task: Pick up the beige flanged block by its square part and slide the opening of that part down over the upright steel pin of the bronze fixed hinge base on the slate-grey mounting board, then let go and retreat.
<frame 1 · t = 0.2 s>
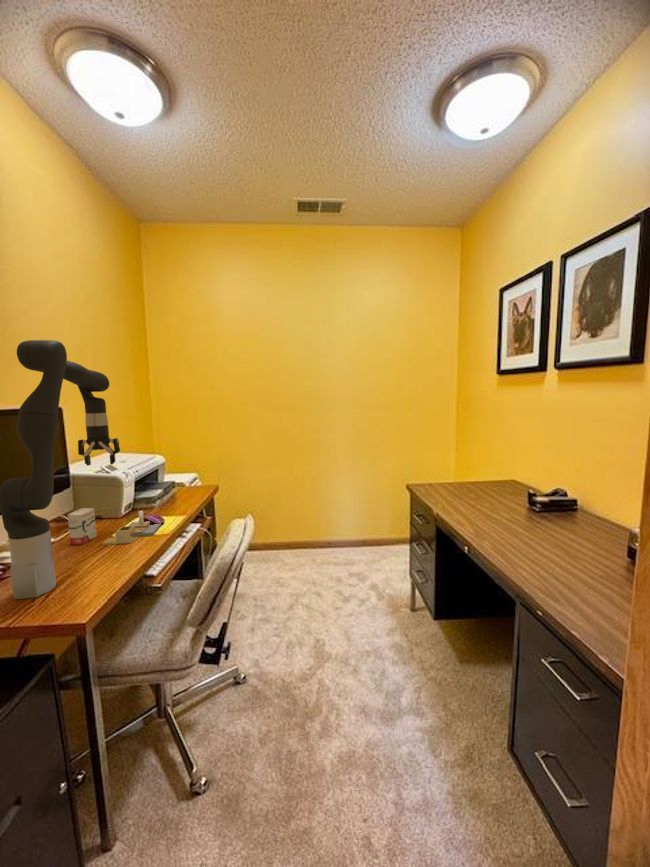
hand: (100, 464, 145), 28 cm above the table, fingers open, 8 cm apart
ink box: (84, 540, 140), on the table
beige flanged block: (126, 541, 138), on the table
hinge base: (142, 529, 150), on the table
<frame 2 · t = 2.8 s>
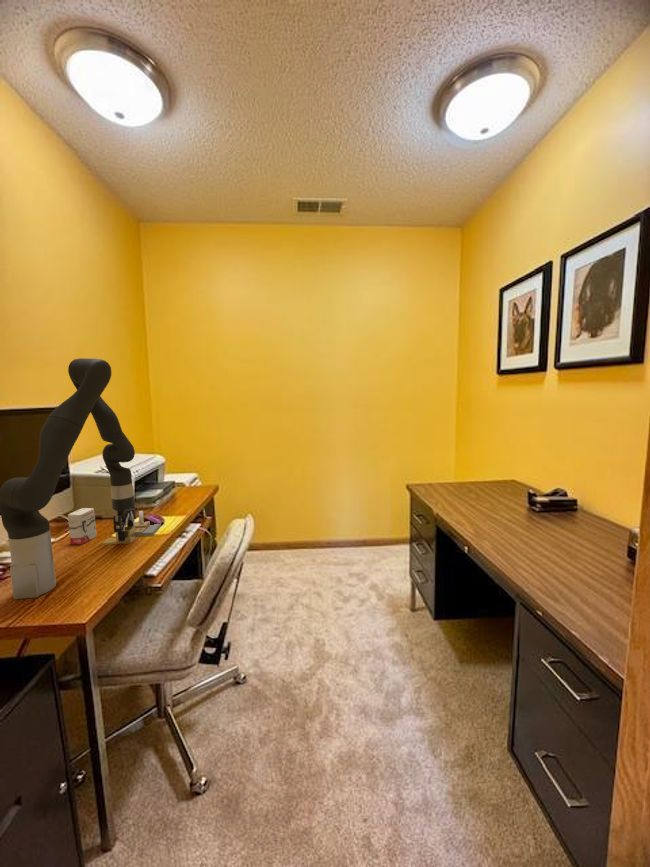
hand: (126, 536, 138), 2 cm above the table, fingers open, 8 cm apart
nothing on the table moved.
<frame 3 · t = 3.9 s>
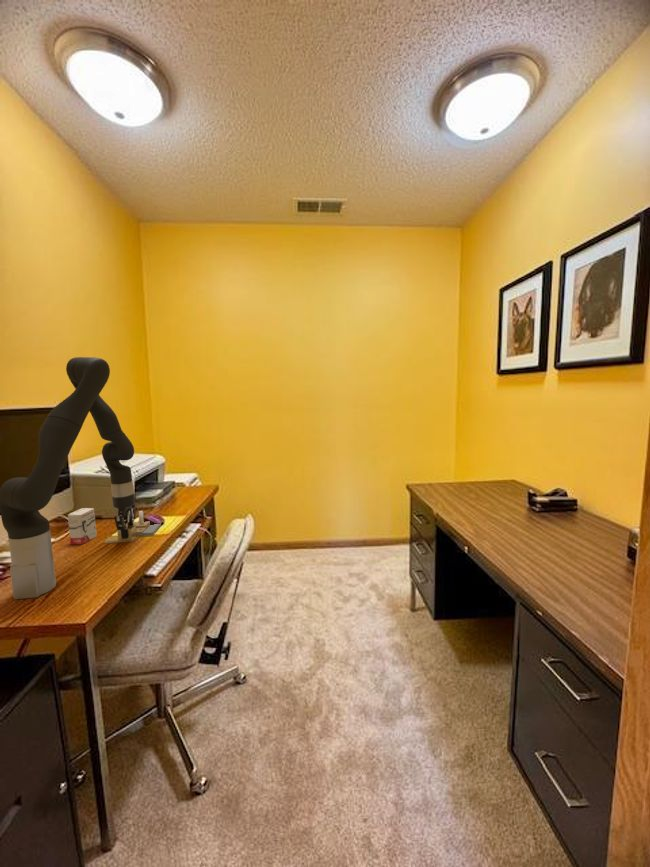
hand: (128, 534, 140), 2 cm above the table, fingers closed on beige flanged block, 5 cm apart
beige flanged block: (127, 539, 140), on the table, touching gripper
everything else where it was.
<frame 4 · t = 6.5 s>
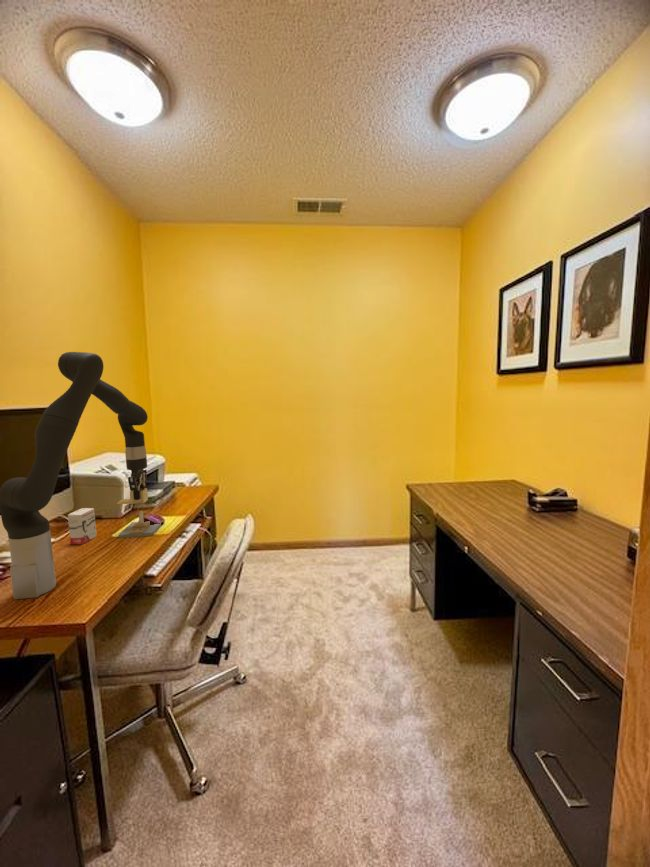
hand: (139, 497, 148), 14 cm above the table, fingers closed on beige flanged block, 5 cm apart
beige flanged block: (139, 501, 148), point 12 cm above the table, touching gripper
everything else where it was.
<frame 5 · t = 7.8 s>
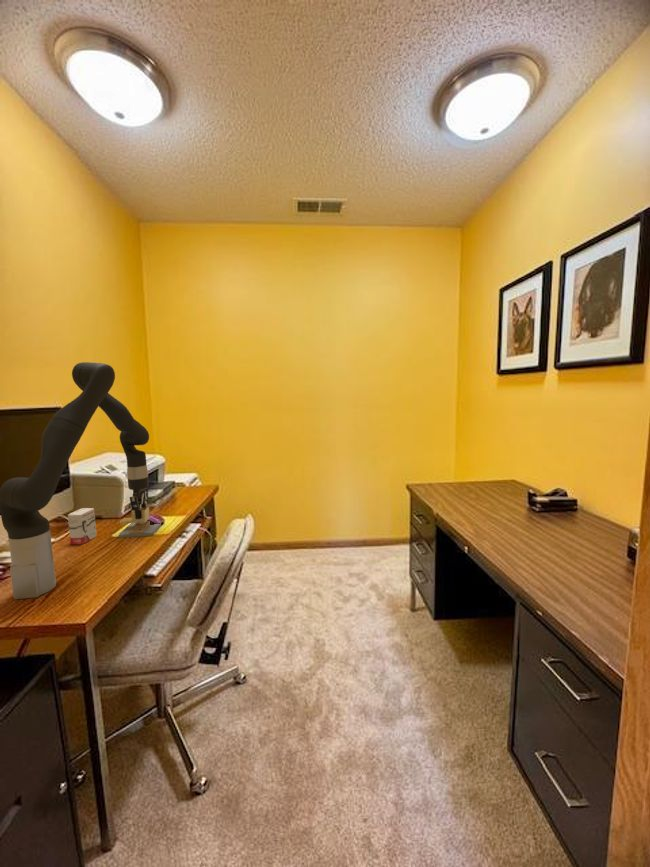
hand: (141, 516, 149), 6 cm above the table, fingers closed on beige flanged block, 5 cm apart
beige flanged block: (141, 520, 149), point 4 cm above the table, touching gripper
everything else where it was.
when the fingers open (5 cm above the table, at t = 9.2 s): beige flanged block stays where it is, resting on hinge base.
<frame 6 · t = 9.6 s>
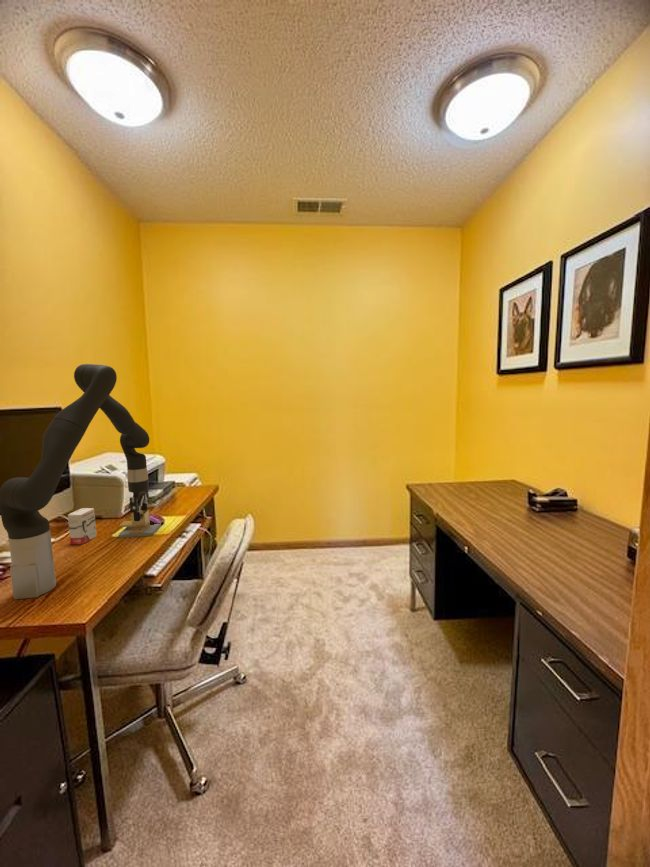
hand: (141, 517, 149), 5 cm above the table, fingers open, 8 cm apart
beige flanged block: (141, 523, 149), point 3 cm above the table, touching hinge base
everything else where it was.
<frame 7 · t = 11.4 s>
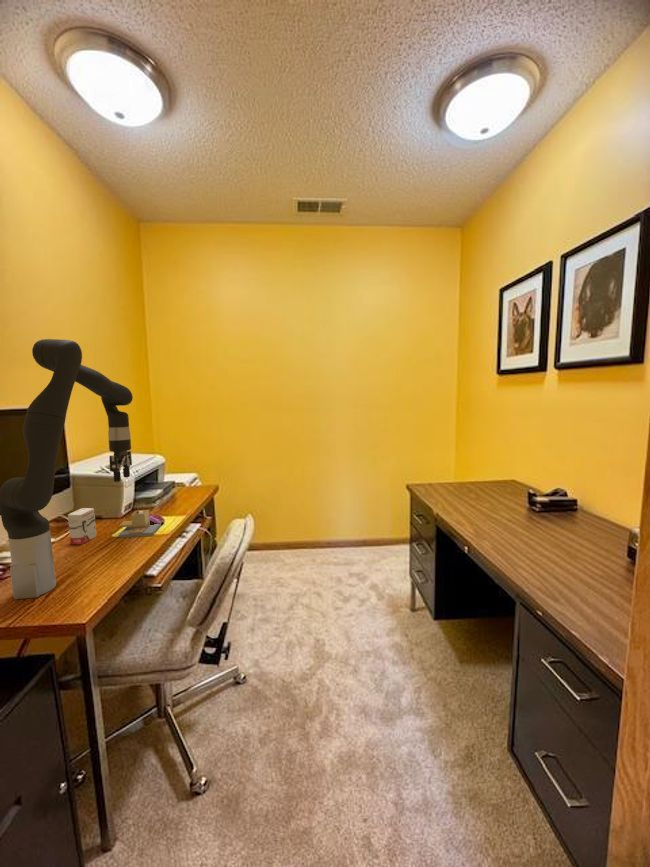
hand: (122, 479, 142), 23 cm above the table, fingers open, 8 cm apart
nothing on the table moved.
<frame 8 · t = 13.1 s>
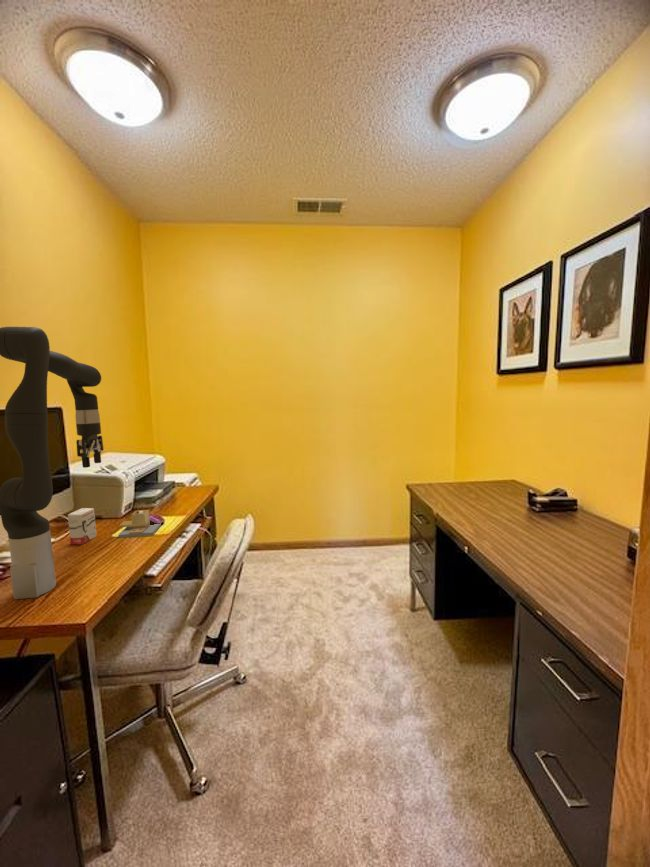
hand: (92, 465, 135), 30 cm above the table, fingers open, 8 cm apart
nothing on the table moved.
at the end: beige flanged block 0.2 cm off-centre on the hinge base, point 2.7 cm above the hinge base's base; the gripper is holding nothing; beige flanged block tilted 0° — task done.
